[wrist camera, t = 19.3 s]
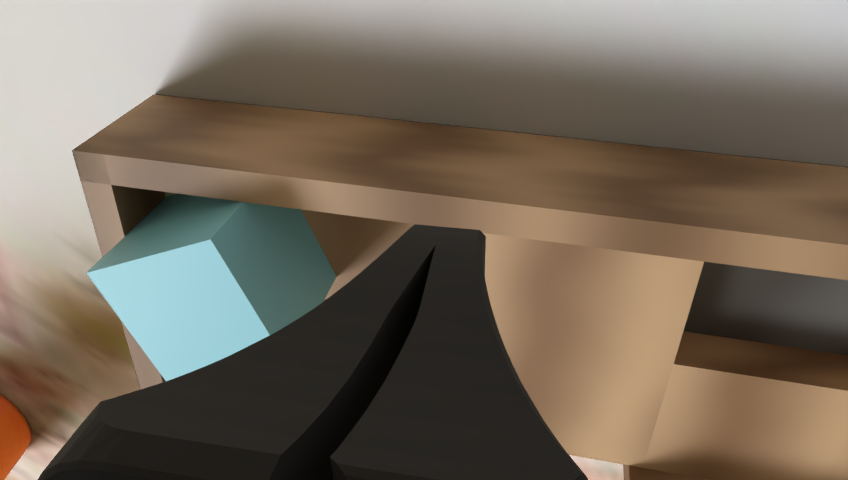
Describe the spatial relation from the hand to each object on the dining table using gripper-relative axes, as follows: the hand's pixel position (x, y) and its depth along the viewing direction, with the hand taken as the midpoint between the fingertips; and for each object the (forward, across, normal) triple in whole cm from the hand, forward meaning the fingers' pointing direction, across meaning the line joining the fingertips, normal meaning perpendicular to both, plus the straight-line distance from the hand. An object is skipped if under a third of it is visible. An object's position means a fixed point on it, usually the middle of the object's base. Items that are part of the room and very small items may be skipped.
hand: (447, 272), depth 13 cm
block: (+8, +8, +5) cm, 13 cm away
